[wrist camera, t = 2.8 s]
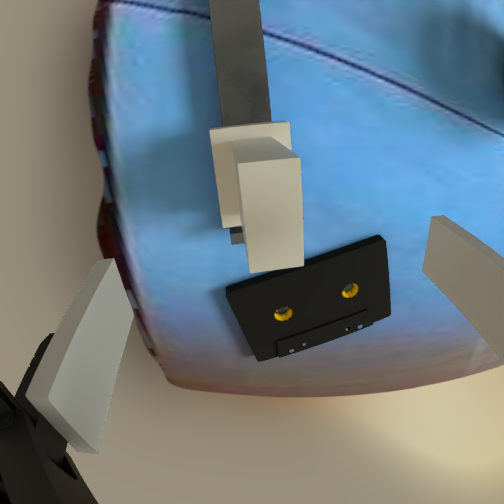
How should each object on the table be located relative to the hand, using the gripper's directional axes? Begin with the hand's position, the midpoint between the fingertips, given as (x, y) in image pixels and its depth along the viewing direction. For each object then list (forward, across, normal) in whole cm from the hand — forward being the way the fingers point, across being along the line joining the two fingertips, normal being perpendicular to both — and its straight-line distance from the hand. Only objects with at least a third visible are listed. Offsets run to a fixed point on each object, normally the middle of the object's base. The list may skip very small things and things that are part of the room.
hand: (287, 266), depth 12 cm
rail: (+18, 0, +6) cm, 19 cm away
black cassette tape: (+18, +6, -16) cm, 25 cm away
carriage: (+15, 0, 0) cm, 15 cm away
